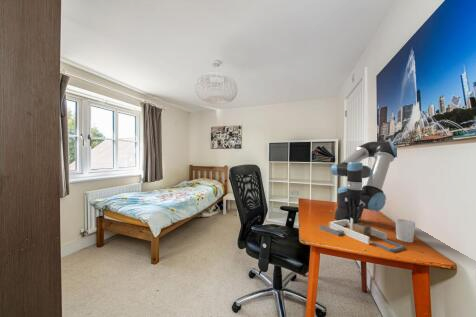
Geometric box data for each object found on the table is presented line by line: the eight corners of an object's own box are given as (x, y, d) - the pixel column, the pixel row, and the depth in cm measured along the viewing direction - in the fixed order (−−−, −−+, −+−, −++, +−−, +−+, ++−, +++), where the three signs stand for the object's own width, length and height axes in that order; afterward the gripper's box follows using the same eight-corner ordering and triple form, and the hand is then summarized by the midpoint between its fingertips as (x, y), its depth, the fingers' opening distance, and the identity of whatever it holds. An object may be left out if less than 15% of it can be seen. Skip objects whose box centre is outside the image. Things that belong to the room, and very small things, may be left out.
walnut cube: (359, 233, 110) (360, 222, 110) (370, 237, 105) (371, 226, 104) (352, 234, 108) (353, 223, 108) (363, 238, 102) (363, 227, 102)
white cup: (414, 240, 102) (415, 221, 102) (414, 244, 96) (414, 225, 96) (395, 235, 108) (396, 217, 107) (394, 239, 102) (394, 221, 102)
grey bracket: (384, 240, 100) (384, 238, 100) (405, 248, 92) (405, 246, 92) (372, 244, 96) (372, 241, 96) (392, 252, 88) (392, 250, 88)
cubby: (346, 224, 123) (346, 219, 123) (386, 239, 101) (387, 233, 101) (328, 227, 117) (328, 222, 117) (367, 244, 95) (368, 237, 95)
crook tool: (324, 227, 118) (324, 224, 118) (343, 234, 108) (343, 230, 108) (319, 228, 116) (319, 225, 116) (338, 236, 105) (338, 232, 105)
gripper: (339, 187, 115) (338, 226, 115) (360, 191, 103) (359, 234, 103) (348, 186, 118) (347, 224, 118) (369, 190, 106) (368, 232, 106)
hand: (352, 229), depth 111 cm, fingers closed
